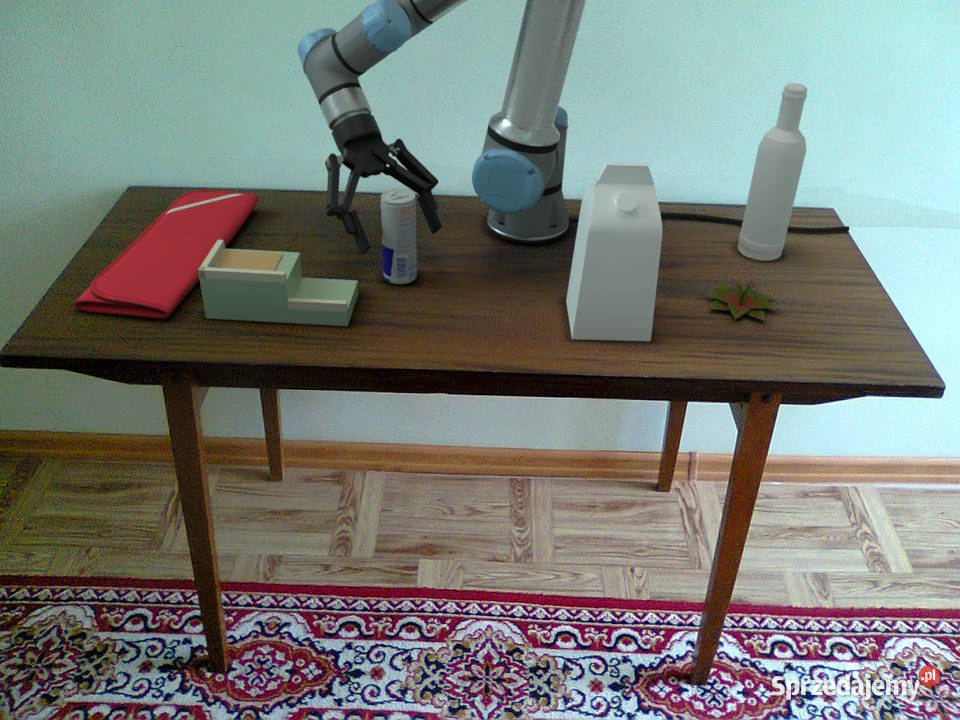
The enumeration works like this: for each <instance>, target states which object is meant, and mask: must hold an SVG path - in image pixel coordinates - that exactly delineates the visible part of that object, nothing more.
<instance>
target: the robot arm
mask: <svg viewBox="0 0 960 720" xmlns="http://www.w3.org/2000/svg"><path fill="white" fill-rule="evenodd" d="M587 1H588V0H526V1H525V5H524V10H523V14H522V19H521V23H520V27H519V32H518V36H517V40H516V44H515V49H514V53H513V58H512V63H511V66H510V71H509V75H508V80H507V85H506V89H505V92H504V97H503V101H502V105H501V106H502V107H501V110H500V111H498V112H497V113H495V114H492V115H491V116H490V118H489V121H488V124H487V129H486V133H485V138H484V142H483V147H482V150H481V154H480V155H479V156H478V157H477V159H476V160H475V162H474V164H473V169H472V172H471V183H472V186H473V190H474V192H475V194H476V196H478V198H479V199H480V201H481V203H483V204H484V205H485V206H486V207H488V208H489V209H488V211H487V215H486V228H487V230H488V231H489V233H490V234H491V235H493V236H495V237H496V238H498V239H500V240H503V241H505V242H509V243H512V244H518V245H529V246H531V245H532V246H534V245H544V244H545V245H546V244H550V243H554V242H556V241H559V240H561V239H563V238H564V237H565V236H567V234H568V232H569V226H570V223H577V224H578V222H579V217H570V216H569V212H568V208H567V204H566V201H565V198H564V197H565V196H564V193H563V182H564V181H563V180H564V171H565V158H566V146H567V136H568V135H567V134H568V129H569V123H568V122H569V116H568V112H567V110H566V109H564V108H563V107H562V106H559V105H560V101H561V98H562V94H563V90H564V88H565V87H564V86H565V83H566V79H567V75H568V71H569V67H570V64H571V61H572V56H573V52H574V48H575V46H576V42H577V37H578V34H579V30H580V26H581V23H582V19H583V16H584V12H585V8H586V4H587ZM465 2H468V0H376V1H374V2H373V3H371V4H370V5H368V6H366V8H364V9H363V10H362V12H360V13H359V14H358V15H357V16H355V17H354V18H353V19H352V20H351V21H349V22H348V23H347V24H345V26H344V27H342V28H341V29H340V30H339V31H336V30H335V29H333V28H330V27H321V28H318V29H314V31H313V32H308V33H307V34H306V35H304V36H302V38H301V39H300V41H298V44H297V54H298V57H299V60H300V63H301V65H302V71H303V73H304V75H305V76H306V78H307V80H308V82H309V84H310V86H311V88H312V91H313V93H314V95H315V98H316V100H317V102H318V105H319V108H320V110H321V112H322V115H323V117H324V119H325V122H326V124H327V126H328V128H329V130H331V136H332V138H333V141H334V143H335V146H336V148H337V150H338V152H339V153H340V154H339V155H336V153H333V152H331V153H329V155H328V156H327V158H326V159H325V162H324V164H325V168H326V171H327V184H326V185H327V187H326V201H325V202H326V203H325V214H326V216H327V217H329V218H330V217H333V216H334V217H336V219H337V220H341V223H342V225H343V227H344V229H345V232H346V234H347V235H348V236H353V239H354V242H355V243H356V246H357V248H358V251H359V253H360V255H365V254H366V253H367V252H368V251H369V250H370V249H371V248H372V246H371V244H370V241H369V239H368V237H367V235H366V232H365V230H364V227H363V225H362V222H361V221H360V218H359V216H358V213H357V211H356V209H352V210H350V209H351V207H352V203H353V200H354V197H355V194H356V190H357V187H358V185H359V181H360V178H363V179H367V178H369V177H371V176H380V175H381V174H384V175H385V176H390V177H391V178H393V179H394V180H396V181H397V182H399V183H400V184H402V185H404V186H405V187H407V188H408V189H409V190H410V191H412V192H413V193H415V194H417V195H418V196H417V198H416V201H417V203H418V205H419V207H420V209H421V212H422V214H423V216H424V218H425V222H426V223H427V226H428V228H429V230H430V233H431V234H432V235H433V234H436V233H437V232H439V231H440V230H441V229H442V228H443V225H442V222H441V220H440V218H439V215H438V213H437V210H438V204H437V202H436V199H435V197H434V194H433V192H432V191H433V190H434V189H435V187H437V185H438V184H439V179H438V178H437V177H436V176H435V175H434V174H433V173H432V172H431V171H430V170H429V169H428V168H427V167H426V166H425V165H424V164H423V163H422V162H421V161H420V160H419V159H417V158H416V157H415V156H414V154H413V153H411V151H409V150H408V148H407V146H406V145H405V143H404V141H403V139H402V138H397V139H396V140H395V141H394V142H392V143H389V144H387V143H386V142H385V141H384V140H383V135H382V131H381V130H380V126H379V125H378V122H377V120H376V118H375V116H374V115H373V114H372V112H373V111H372V108H371V106H370V104H369V102H368V99H367V97H366V95H365V92H364V90H363V88H362V85H361V83H360V80H359V77H362V76H363V75H364V74H365V73H367V72H368V71H369V70H370V69H371V68H373V67H374V66H376V65H377V64H379V63H380V62H381V61H383V60H384V59H385V58H387V57H388V56H389V55H391V54H392V53H395V52H397V51H398V49H400V48H401V47H402V46H404V44H405V43H407V42H408V41H409V40H411V39H412V38H413V37H416V36H417V35H419V34H420V33H421V32H422V31H424V30H426V29H427V28H428V27H431V26H432V25H433V24H434V23H435V22H437V21H438V20H440V19H442V18H443V17H444V16H446V15H447V14H449V13H450V12H452V11H453V10H455V9H456V8H458V7H459V6H461V5H463V4H464V3H465ZM390 154H391V156H392V157H391V156H390ZM393 157H395V158H396V159H395V158H393ZM398 162H399V163H400V164H401V165H400V164H399V163H398ZM387 165H388V166H387ZM342 166H344V167H346V168H347V169H348V170H350V172H349V174H348V178H347V183H346V186H345V189H344V191H343V195H342V198H341V201H340V204H339V194H340V191H339V190H340V177H341V176H340V173H341V167H342ZM660 215H661V218H679V219H680V218H681V219H695V220H704V221H705V220H707V221H712V222H713V221H714V222H720V223H728V224H735V225H741V226H742V223H743V219H738V218H732V217H723V216H716V215H708V214H699V213H689V212H688V213H687V212H660ZM849 231H850V226H848V225H847V226H831V227H803V226H802V227H801V226H791V225H788V229H787V232H797V233H798V232H799V233H839V232H849Z"/></svg>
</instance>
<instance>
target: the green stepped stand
mask: <svg viewBox="0 0 960 720" xmlns="http://www.w3.org/2000/svg"><path fill="white" fill-rule="evenodd" d="M198 272H199V278H200V280H199V284H200V290H201V298H202V301H203V309H204V315H205V319H212V320H228V321H246V322H261V323H262V322H266V323H279V324H280V323H281V324H282V323H283V324H301V325H318V326H334V327H335V326H337V327H349V324H350V320H351V318H352V315H353V312H354V308H355V305H356V303H357V300H358V298H359V297H358V296H359V295H360V294H359V293H360V292H359V280H356V279H355V280H353V279H339V278H338V279H336V278H321V277H319V278H316V277H303V269H302V259H301V252H299V251H298V252H297V251H296V252H295V251H293V252H292V251H279V250H277V251H276V250H262V249H261V250H260V249H240V248H226V247H225V244H224V240H217V242H216V243H215V245H214V246H213V248H212V249H211V251H210V252H209V254H208V255H207V257H206V259H205V260H204V262H203V263H202V265H201V266H200V268H199V269H198Z"/></svg>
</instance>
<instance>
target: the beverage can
mask: <svg viewBox="0 0 960 720" xmlns="http://www.w3.org/2000/svg"><path fill="white" fill-rule="evenodd" d="M380 218H381V219H380V221H381V247H382V248H381V249H382V275H383V276H382V277H383V279H384V280H385V281H387V283H391V284H394V285H405V284H409V283H411V282H413V281H415V280H416V279H417V277H418V259H417V257H418V255H417V254H418V252H417V250H418V248H417V247H418V246H417V243H418V242H417V241H418V240H417V198H416V193H415V192H414V191H413V190H410V189H405V188H393V189H388V190H386V191H384V192H382V194H381V195H380Z"/></svg>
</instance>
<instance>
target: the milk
mask: <svg viewBox="0 0 960 720" xmlns="http://www.w3.org/2000/svg"><path fill="white" fill-rule="evenodd" d="M580 203H581V204H580V210H579V216H578V218H579V222H578V223H577V229H576V235H575V242H574V249H573V253H572V261H571V268H570V274H569V281H568V286H567V292H566V299H565V302H566V310H567V316H568V322H569V329H570V336H571V340H581V341H582V340H583V341H584V340H586V341H592V340H593V341H621V342H622V341H623V342H624V341H625V342H651V341H652V335H653V323H654V315H655V306H656V298H657V297H656V295H657V287H658V278H659V268H660V261H661V260H660V259H661V250H662V243H663V242H662V241H663V221H662V217H661V215H660V213H661V209H660V205H659V200H658V194H657V190H656V186H655V182H654V179H653V176H652V173H651V171H650V167H649V165H648V163H647V161H646V162H643V161H642V162H640V161H607V160H606V161H605V162H604V164H603V166H602V168H601V169H600V171H599V173H598V175H597V177H596V179H595V180H594V181H593V182H592V184H591V185H590V186H589V187H588V189H587V190H586V191H585V192H584V194H583V196H582V198H581V202H580Z"/></svg>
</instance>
